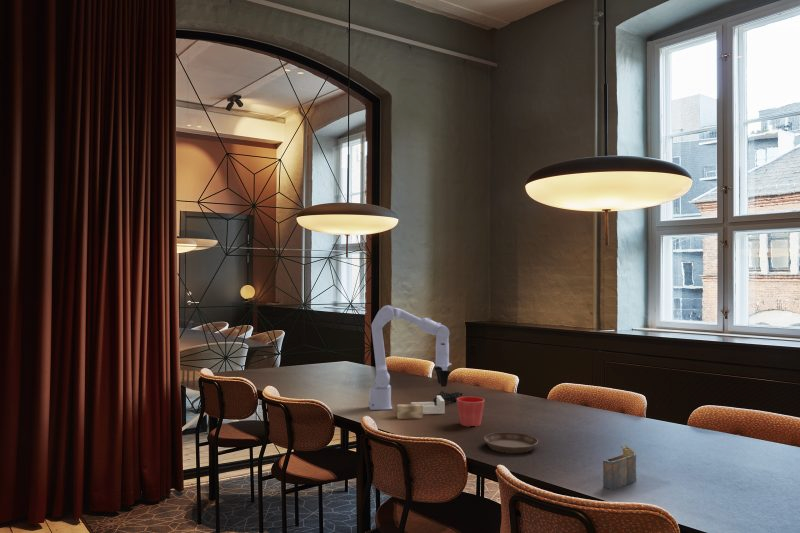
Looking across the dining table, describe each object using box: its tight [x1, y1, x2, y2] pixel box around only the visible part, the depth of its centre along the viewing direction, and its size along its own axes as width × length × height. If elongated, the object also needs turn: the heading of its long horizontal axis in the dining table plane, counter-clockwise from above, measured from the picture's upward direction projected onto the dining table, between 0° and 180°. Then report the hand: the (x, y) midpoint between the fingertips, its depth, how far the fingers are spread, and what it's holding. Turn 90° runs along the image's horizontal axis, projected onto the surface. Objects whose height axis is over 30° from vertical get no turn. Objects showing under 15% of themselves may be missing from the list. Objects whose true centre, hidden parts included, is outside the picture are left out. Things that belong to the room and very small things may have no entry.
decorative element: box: [432, 391, 463, 405], centre depth 273 cm, size 22×5×6 cm, turn 147°
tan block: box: [396, 403, 424, 420], centre depth 247 cm, size 10×4×5 cm, turn 95°
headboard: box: [410, 394, 446, 415], centre depth 258 cm, size 14×12×5 cm
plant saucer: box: [483, 431, 539, 454], centre depth 203 cm, size 18×18×3 cm
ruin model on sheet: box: [602, 445, 637, 490], centre depth 167 cm, size 11×3×10 cm, turn 127°
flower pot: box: [456, 396, 485, 427], centre depth 235 cm, size 11×11×10 cm
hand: (442, 384), depth 264 cm, fingers open, 7 cm apart
